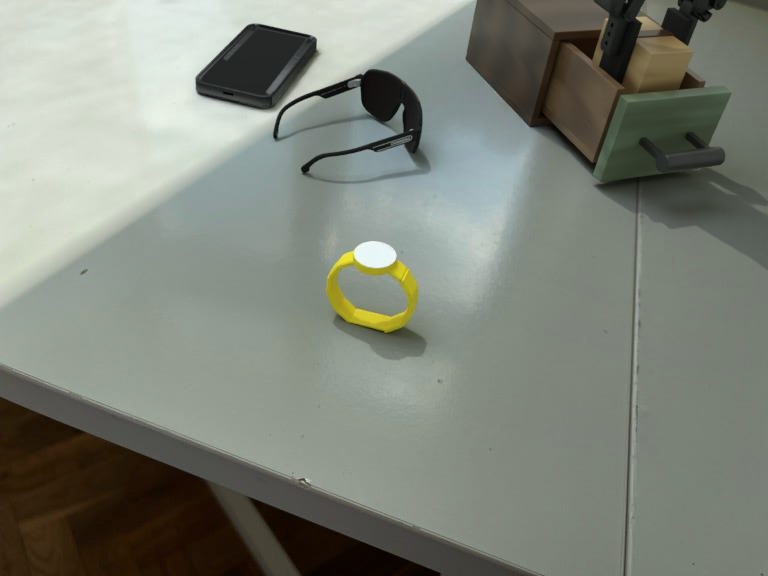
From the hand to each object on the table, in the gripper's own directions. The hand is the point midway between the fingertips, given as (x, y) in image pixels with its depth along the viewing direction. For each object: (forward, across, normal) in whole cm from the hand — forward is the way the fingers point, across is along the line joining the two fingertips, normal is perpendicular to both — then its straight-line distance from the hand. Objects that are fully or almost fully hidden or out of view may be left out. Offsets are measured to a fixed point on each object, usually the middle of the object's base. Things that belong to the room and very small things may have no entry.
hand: (630, 84), depth 71 cm
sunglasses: (+7, +25, -5) cm, 26 cm away
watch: (+7, +31, +17) cm, 36 cm away
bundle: (0, 0, 0) cm, 0 cm away
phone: (+7, +29, -20) cm, 36 cm away
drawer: (+6, 0, +2) cm, 6 cm away
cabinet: (+7, 0, -12) cm, 14 cm away
